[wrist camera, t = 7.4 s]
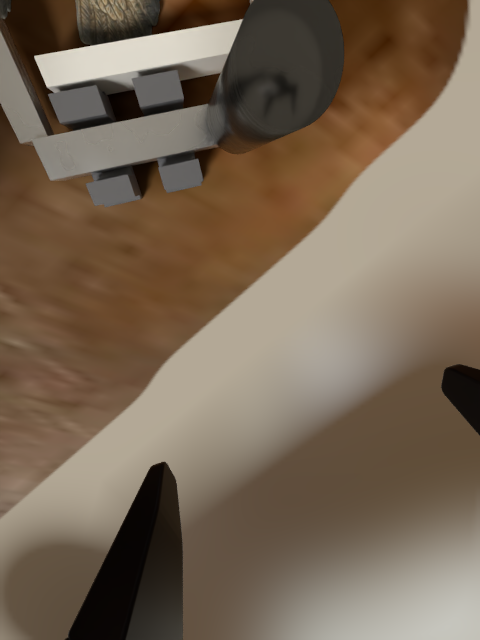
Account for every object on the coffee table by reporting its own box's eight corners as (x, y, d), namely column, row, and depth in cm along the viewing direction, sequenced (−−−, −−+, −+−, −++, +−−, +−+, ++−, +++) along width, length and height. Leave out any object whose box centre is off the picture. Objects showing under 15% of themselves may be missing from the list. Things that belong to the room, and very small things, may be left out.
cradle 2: (167, 192, 16) (166, 194, 14) (137, 91, 14) (129, 72, 12) (200, 184, 17) (204, 185, 14) (175, 84, 14) (175, 63, 12)
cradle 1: (108, 205, 16) (96, 210, 14) (68, 104, 14) (45, 88, 11) (142, 198, 16) (136, 200, 14) (108, 97, 14) (93, 79, 11)
